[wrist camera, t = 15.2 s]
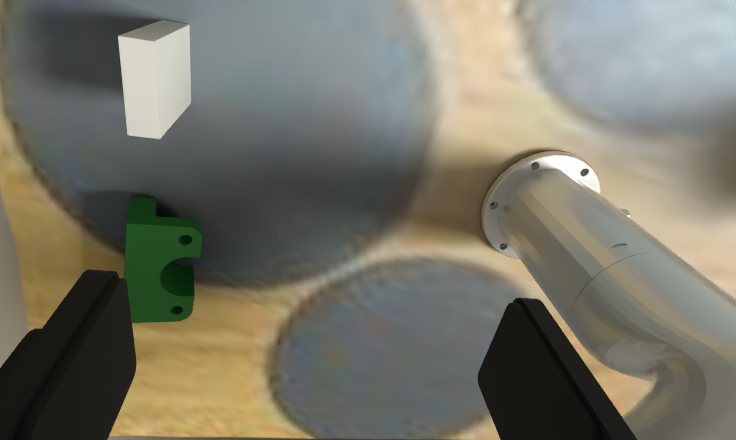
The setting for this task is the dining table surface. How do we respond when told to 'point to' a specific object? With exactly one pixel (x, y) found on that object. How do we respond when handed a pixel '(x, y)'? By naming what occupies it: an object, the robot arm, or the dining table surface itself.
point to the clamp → (159, 263)
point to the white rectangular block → (155, 76)
